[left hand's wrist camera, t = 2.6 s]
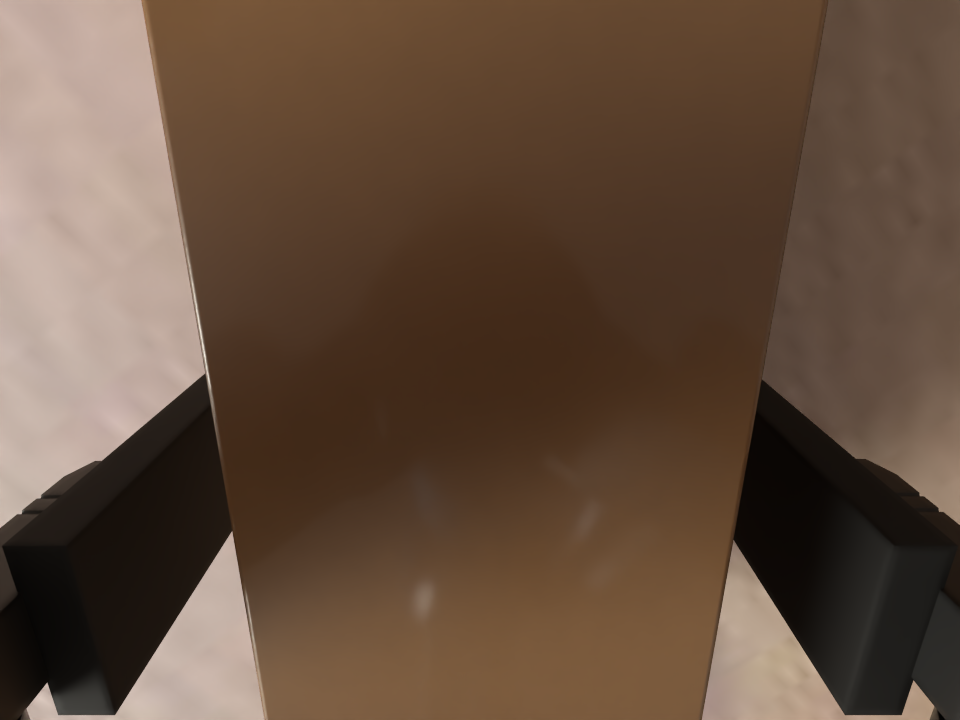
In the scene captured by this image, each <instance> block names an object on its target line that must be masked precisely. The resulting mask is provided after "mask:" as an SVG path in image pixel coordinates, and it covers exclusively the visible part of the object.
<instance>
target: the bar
mask: <svg viewBox="0 0 960 720" xmlns="http://www.w3.org/2000/svg"><path fill="white" fill-rule="evenodd" d="M827 5H828V0H142V6H143V11H144V17H145V23H146V29H147V35H148V41H149V46H150V52H151V58H152V64H153V70H154V76H155V82H156V87H157V93H158V99H159V105H160V111H161V117H162V122H163V128H164V134H165V140H166V146H167V152H168V157H169V163H170V169H171V175H172V181H173V187H174V193H175V198H176V204H177V210H178V216H179V222H180V228H181V233H182V239H183V245H184V251H185V257H186V263H187V268H188V274H189V280H190V286H191V292H192V298H193V304H194V309H195V315H196V321H197V327H198V333H199V339H200V344H201V350H202V356H203V362H204V368H205V374H206V379H207V385H208V391H209V397H210V403H211V409H212V415H213V420H214V426H215V432H216V438H217V444H218V450H219V455H220V461H221V467H222V473H223V479H224V485H225V490H226V496H227V502H228V508H229V514H230V520H231V526H232V531H233V537H234V543H235V549H236V555H237V561H238V566H239V572H240V578H241V584H242V590H243V596H244V601H245V607H246V613H247V619H248V625H249V631H250V636H251V642H252V648H253V654H254V660H255V666H256V672H257V677H258V683H259V689H260V695H261V701H262V707H263V712H264V718H265V720H702V715H703V709H704V703H705V698H706V692H707V686H708V680H709V675H710V669H711V663H712V658H713V652H714V646H715V641H716V635H717V629H718V624H719V618H720V612H721V607H722V601H723V595H724V590H725V584H726V578H727V573H728V567H729V561H730V556H731V550H732V544H733V539H734V533H735V527H736V521H737V516H738V510H739V504H740V499H741V493H742V487H743V482H744V476H745V470H746V465H747V459H748V453H749V448H750V442H751V436H752V431H753V425H754V419H755V414H756V408H757V402H758V397H759V391H760V385H761V380H762V374H763V368H764V363H765V357H766V351H767V345H768V340H769V334H770V328H771V323H772V317H773V311H774V306H775V300H776V294H777V289H778V283H779V277H780V272H781V266H782V260H783V255H784V249H785V243H786V238H787V232H788V226H789V221H790V215H791V209H792V204H793V198H794V192H795V187H796V181H797V175H798V169H799V164H800V158H801V152H802V147H803V141H804V135H805V130H806V124H807V118H808V113H809V107H810V101H811V96H812V90H813V84H814V79H815V73H816V67H817V62H818V56H819V50H820V45H821V39H822V33H823V28H824V22H825V16H826V11H827Z"/></svg>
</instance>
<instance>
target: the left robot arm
mask: <svg viewBox="0 0 960 720" xmlns="http://www.w3.org/2000/svg"><path fill="white" fill-rule="evenodd" d="M231 532H232V526H231V520H230V514H229V508H228V502H227V496H226V490H225V485H224V479H223V473H222V467H221V461H220V455H219V450H218V444H217V438H216V432H215V426H214V420H213V415H212V409H211V403H210V397H209V391H208V385H207V379H206V374H204V375H203V376H202V377H201V378H199V379H198V380H197V381H196V382H195V383H193V384H192V385H191V386H190V387H189V388H188V389H186V390H185V391H184V392H183V393H182V394H180V395H179V396H178V397H177V398H176V399H175V400H173V401H172V402H171V403H170V404H169V405H167V406H166V407H165V408H164V409H163V410H162V411H160V412H159V413H158V414H157V415H156V416H154V417H153V418H152V419H151V420H150V421H149V422H147V423H146V424H145V425H144V426H143V427H141V428H140V429H139V430H138V431H137V432H136V433H134V434H133V435H132V436H131V437H130V438H128V439H127V440H126V441H125V442H124V443H123V444H121V445H120V446H119V447H118V448H117V449H116V450H114V451H113V452H112V453H111V454H110V455H108V456H107V457H106V458H105V459H104V460H103V461H94V462H92V463H90V464H88V465H86V466H84V467H82V468H80V469H78V470H76V471H74V472H72V473H70V474H68V475H66V476H64V477H63V478H62V479H61V480H59V481H58V482H57V483H56V484H54V485H53V486H52V487H51V488H49V489H48V490H47V491H46V492H44V493H43V494H42V495H41V499H36V500H35V501H33V502H32V503H31V504H30V505H28V506H27V507H26V508H25V509H23V510H22V514H17V515H16V516H15V517H14V518H12V519H11V520H10V521H9V522H7V523H6V524H5V525H4V526H2V527H1V528H0V720H30V718H29V715H28V712H27V709H26V708H27V707H28V706H29V705H30V703H31V702H32V701H33V700H34V698H35V697H36V696H37V694H38V693H39V692H40V691H41V689H42V688H43V687H44V686H45V684H46V683H48V686H49V689H50V692H51V695H52V698H53V701H54V703H55V706H56V709H57V712H58V715H115V714H116V713H117V711H118V709H119V708H120V706H121V705H122V703H123V702H124V700H125V698H126V697H127V695H128V694H129V692H130V691H131V689H132V687H133V686H134V684H135V683H136V681H137V680H138V678H139V676H140V675H141V673H142V672H143V670H144V669H145V667H146V665H147V664H148V662H149V661H150V659H151V657H152V656H153V654H154V653H155V651H156V650H157V648H158V646H159V645H160V643H161V642H162V640H163V639H164V637H165V635H166V634H167V632H168V631H169V629H170V628H171V626H172V624H173V623H174V621H175V620H176V618H177V617H178V615H179V613H180V612H181V610H182V609H183V607H184V606H185V604H186V602H187V601H188V599H189V598H190V596H191V595H192V593H193V591H194V590H195V588H196V587H197V585H198V584H199V582H200V580H201V579H202V577H203V576H204V574H205V573H206V571H207V569H208V568H209V566H210V565H211V563H212V562H213V560H214V558H215V557H216V555H217V554H218V552H219V551H220V549H221V547H222V546H223V544H224V543H225V541H226V540H227V538H228V536H229V535H230V533H231ZM733 540H734V541H735V543H736V544H737V546H738V547H739V549H740V551H741V552H742V554H743V555H744V557H745V558H746V560H747V562H748V563H749V565H750V566H751V568H752V569H753V571H754V573H755V574H756V576H757V577H758V579H759V580H760V582H761V584H762V585H763V587H764V588H765V590H766V591H767V593H768V595H769V596H770V598H771V599H772V601H773V602H774V604H775V606H776V607H777V609H778V610H779V612H780V613H781V615H782V617H783V618H784V620H785V621H786V623H787V624H788V626H789V628H790V629H791V631H792V632H793V634H794V636H795V637H796V639H797V640H798V642H799V643H800V645H801V647H802V648H803V650H804V651H805V653H806V654H807V656H808V658H809V659H810V661H811V662H812V664H813V665H814V667H815V669H816V670H817V672H818V673H819V675H820V676H821V678H822V680H823V681H824V683H825V684H826V686H827V687H828V689H829V691H830V692H831V694H832V695H833V697H834V698H835V700H836V702H837V703H838V705H839V706H840V708H841V709H842V711H843V713H844V714H845V715H902V712H903V709H904V706H905V703H906V700H907V697H908V694H909V692H910V689H911V686H912V683H913V680H914V681H915V682H916V684H917V685H918V686H919V687H920V689H921V690H922V691H923V692H924V694H925V695H926V696H927V697H928V699H929V700H930V701H931V702H932V704H933V705H934V706H935V707H934V709H933V712H932V715H931V718H930V720H960V525H959V524H958V523H956V522H955V521H954V520H953V519H951V518H950V517H949V516H948V515H946V514H945V513H944V512H939V510H938V507H936V506H935V505H934V504H933V503H931V502H930V501H929V500H928V499H926V498H925V497H924V496H920V495H919V492H918V491H916V490H915V489H914V488H913V487H911V486H910V485H909V484H908V483H906V482H905V481H904V480H903V479H901V478H900V477H899V476H898V475H896V474H894V473H892V472H890V471H888V470H886V469H884V468H882V467H880V466H878V465H876V464H874V463H872V462H870V461H868V460H866V459H855V458H854V457H853V456H852V455H850V454H849V453H848V452H847V451H846V450H844V449H843V448H842V447H841V446H840V445H839V444H837V443H836V442H835V441H834V440H833V439H831V438H830V437H829V436H828V435H827V434H826V433H824V432H823V431H822V430H821V429H820V428H818V427H817V426H816V425H815V424H814V423H813V422H811V421H810V420H809V419H808V418H807V417H806V416H804V415H803V414H802V413H801V412H800V411H798V410H797V409H796V408H795V407H794V406H793V405H791V404H790V403H789V402H788V401H787V400H785V399H784V398H783V397H782V396H781V395H780V394H778V393H777V392H776V391H775V390H774V389H772V388H771V387H770V386H769V385H768V384H767V383H765V382H764V381H763V380H761V385H760V391H759V397H758V402H757V408H756V414H755V419H754V425H753V431H752V436H751V442H750V448H749V453H748V459H747V465H746V470H745V476H744V482H743V487H742V493H741V499H740V504H739V510H738V516H737V521H736V527H735V533H734V539H733Z"/></svg>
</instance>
